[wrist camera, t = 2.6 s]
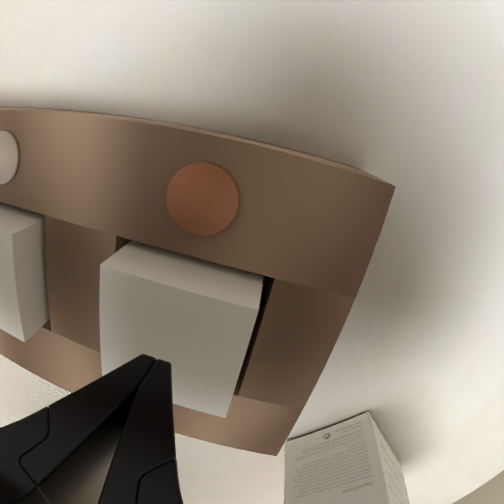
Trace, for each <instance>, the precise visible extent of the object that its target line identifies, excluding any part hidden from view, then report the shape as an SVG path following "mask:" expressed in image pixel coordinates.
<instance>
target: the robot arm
mask: <svg viewBox="0 0 504 504" xmlns="http://www.w3.org/2000/svg"><path fill="white" fill-rule="evenodd" d="M0 504H183V500H182V496H181V492H180V486H179V479H178V471H177V461H176V448H175V434H174V417H173V395H172V365H171V363H170V362H168V361H164V360H161V359H157V360H156V358H155V357H152V356H149V355H146V354H141V355H139V356H137V357H135V358H134V359H132V360H130V361H128V362H127V363H125V364H123V365H121V366H120V367H118V368H116V369H114V370H113V371H111V372H109V373H107V374H105V375H104V376H102V377H100V378H98V379H97V380H95V381H93V382H91V383H89V384H88V385H86V386H84V387H82V388H80V389H78V390H77V391H75V392H73V393H71V394H69V395H68V396H66V397H64V398H62V399H60V400H58V401H56V402H55V403H53V404H51V405H49V408H48V407H45V408H43V409H41V410H39V411H38V412H36V413H34V414H31V415H29V416H27V417H25V418H23V419H21V420H19V421H16V422H14V423H11V424H9V425H6V426H4V427H1V428H0Z"/></svg>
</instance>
